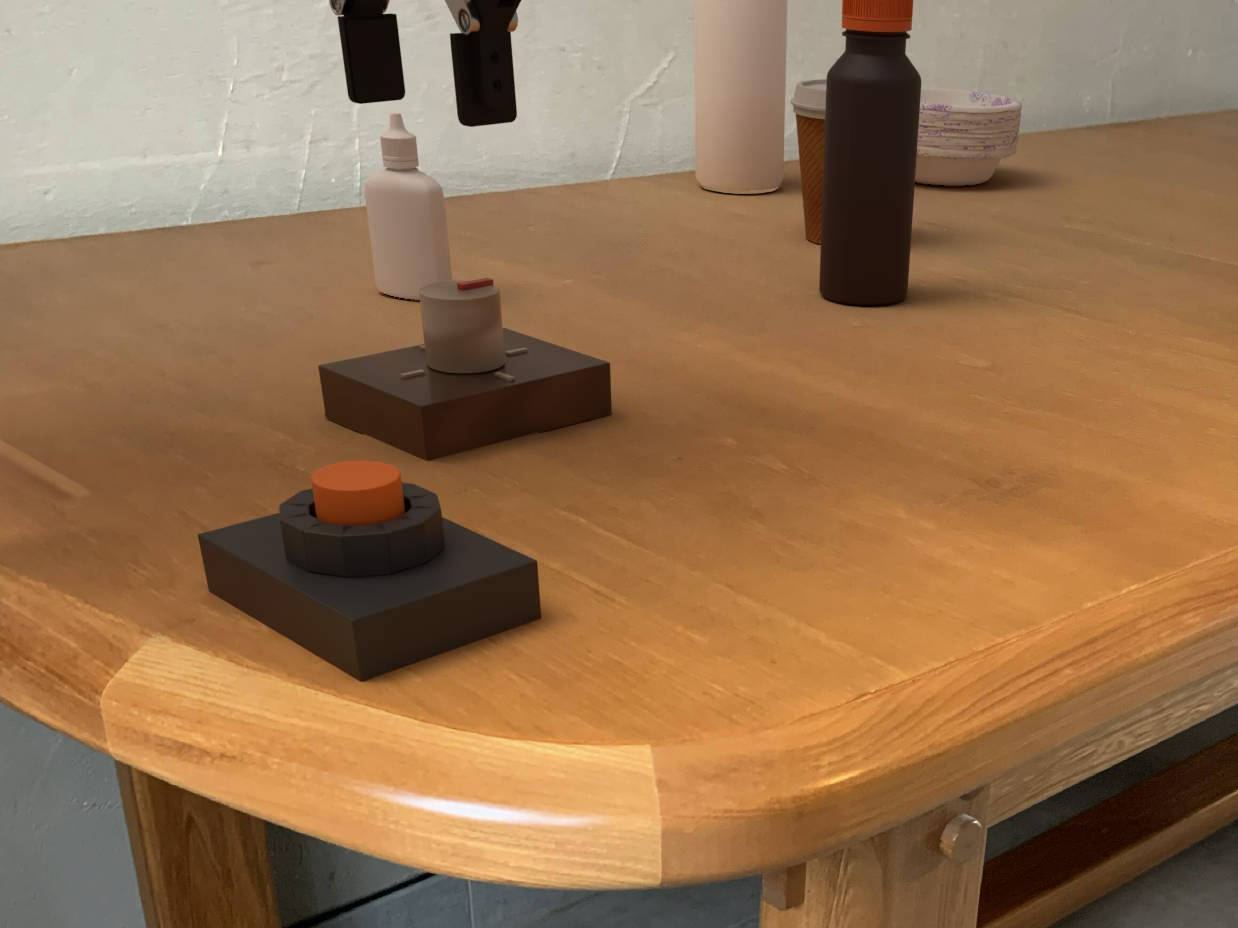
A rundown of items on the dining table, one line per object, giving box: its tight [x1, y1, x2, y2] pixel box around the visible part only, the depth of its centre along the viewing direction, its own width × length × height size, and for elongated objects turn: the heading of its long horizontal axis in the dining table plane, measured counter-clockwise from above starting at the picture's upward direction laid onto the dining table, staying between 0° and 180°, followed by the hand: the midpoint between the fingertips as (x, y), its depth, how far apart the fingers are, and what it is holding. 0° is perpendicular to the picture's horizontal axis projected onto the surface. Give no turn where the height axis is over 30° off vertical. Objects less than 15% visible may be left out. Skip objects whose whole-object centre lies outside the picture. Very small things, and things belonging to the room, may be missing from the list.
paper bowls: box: [915, 87, 1023, 187], centre depth 157 cm, size 15×15×8 cm
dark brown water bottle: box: [818, 0, 922, 306], centre depth 110 cm, size 7×7×20 cm
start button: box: [310, 460, 405, 525], centre depth 63 cm, size 4×4×2 cm
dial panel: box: [318, 327, 613, 462], centre depth 87 cm, size 13×10×3 cm
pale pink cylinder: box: [693, 0, 788, 191], centre depth 143 cm, size 9×9×30 cm
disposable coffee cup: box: [789, 78, 827, 245], centre depth 129 cm, size 10×10×12 cm
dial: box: [419, 277, 505, 374], centre depth 85 cm, size 4×4×4 cm
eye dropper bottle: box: [364, 112, 453, 301], centre depth 108 cm, size 4×6×12 cm
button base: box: [197, 482, 542, 683], centre depth 65 cm, size 9×12×4 cm
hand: (431, 111), depth 78 cm, fingers open, 9 cm apart
